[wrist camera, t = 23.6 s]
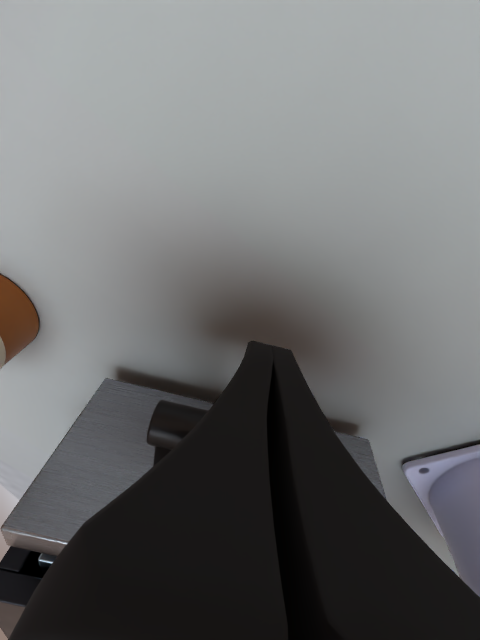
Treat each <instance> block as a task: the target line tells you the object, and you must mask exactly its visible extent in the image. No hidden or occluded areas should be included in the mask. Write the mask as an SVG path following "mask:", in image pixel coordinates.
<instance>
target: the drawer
mask: <svg viewBox="0 0 480 640" xmlns="http://www.w3.org/2000/svg"><path fill="white" fill-rule="evenodd" d="M213 404H214V403H211V402H206V401H202V400H198V399H194V398H189V397H185V396H181V395H177V394H172V393H168V392H164V391H160V390H155V389H151V388H147V387H143V386H138V385H134V384H130V383H125V382H121V381H117V380H113V379H108V378H106V379H105V380H104V381H103V382H102V384H101V385H100V387H99V388H98V390H97V391H96V392H95V394H94V395H93V397H92V398H91V400H90V401H89V402H88V404H87V405H86V407H85V408H84V410H83V411H82V412H81V414H80V415H79V417H78V418H77V420H76V421H75V422H74V424H73V425H72V427H71V428H70V430H69V431H68V432H67V434H66V435H65V437H64V438H63V439H62V441H61V442H60V444H59V445H58V447H57V448H56V449H55V451H54V452H53V454H52V455H51V457H50V458H49V459H48V461H47V462H46V464H45V465H44V467H43V468H42V469H41V471H40V472H39V474H38V475H37V477H36V478H35V479H34V481H33V482H32V484H31V485H30V487H29V488H28V489H27V491H26V492H25V494H24V495H23V497H22V498H21V499H20V501H19V502H18V504H17V505H16V507H15V508H14V510H13V511H12V512H11V514H10V515H9V517H8V518H7V519H6V521H5V522H4V524H3V525H2V527H1V532H2V534H3V536H4V539H5V541H6V543H7V545H9V546H13V547H17V548H22V549H26V550H31V551H35V552H40V553H41V555H40V557H39V559H38V561H39V565H40V568H41V571H42V574H43V576H44V575H45V573H46V572H47V570H48V569H49V567H50V566H51V564H52V563H53V562H54V560H55V559H56V558H57V556H58V555H59V554H60V552H61V551H62V550H63V548H64V547H65V546H66V545H67V543H68V542H69V541H70V540H71V538H72V537H73V536H74V535H75V533H76V532H77V531H78V530H79V528H80V527H81V526H82V525H83V524H84V523H85V522H86V521H87V520H88V519H89V518H91V517H92V516H93V515H94V514H96V513H97V512H98V511H100V510H101V509H102V508H103V507H105V506H106V505H107V504H109V503H110V502H111V501H112V500H114V499H115V498H116V497H118V496H119V495H120V494H121V493H123V492H124V491H125V490H126V489H128V488H129V487H130V486H131V485H133V484H134V483H135V482H136V481H137V480H139V479H140V478H141V477H142V476H143V475H144V474H145V473H146V472H148V471H149V470H150V469H151V468H152V467H153V466H154V465H155V464H157V463H158V462H159V461H160V460H161V459H162V458H163V457H164V456H166V455H167V454H168V453H169V452H170V451H171V450H172V449H173V448H174V447H175V446H176V445H177V444H178V443H179V442H180V441H181V440H182V439H183V438H184V437H185V436H186V435H187V434H188V433H189V432H190V431H191V430H192V429H193V428H194V427H195V425H196V424H197V423H198V422H199V421H200V420H201V419H202V418H203V416H204V415H205V414H206V413H207V412H208V411H209V409H210V408H211V407H212V406H213ZM335 433H336V435H337V437H338V438H339V439H340V441H341V442H342V444H343V445H344V447H345V448H346V449H347V451H348V452H349V453H350V455H351V456H352V458H353V459H354V460H355V462H356V463H357V464H358V466H359V467H360V468H361V470H362V471H363V472H364V474H365V475H366V476H367V477H368V479H369V480H370V481H371V482H372V483H373V485H374V486H375V487H376V488H377V489H378V491H379V492H380V493H381V494H382V495H383V497H384V498H385V499H386V497H385V493H384V490H383V487H382V483H381V480H380V476H379V473H378V470H377V466H376V463H375V459H374V456H373V452H372V449H371V446H370V442H369V440H368V439H364V438H360V437H355V436H351V435H347V434H343V433H338V432H335Z"/></svg>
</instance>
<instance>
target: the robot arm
mask: <svg viewBox="0 0 480 640" xmlns="http://www.w3.org/2000/svg"><path fill="white" fill-rule="evenodd" d="M402 469H403V472H404V474H405V476H406V478H407V479H408V481H409V483H410V484H411V486H412V488H413V489H414V491H415V493H416V494H417V496H418V498H419V499H420V501H421V503H422V504H423V506H424V508H425V509H426V511H427V513H428V514H429V516H430V518H431V519H432V521H433V523H434V524H435V526H436V528H437V529H438V531H439V533H440V534H441V535H442V536H443V537H444V538H445V541H446V543H447V546H448V548H449V551H450V553H451V556H452V558H453V560H454V563H455V565H456V568H457V570H458V573H459V575H460V578H461V579H460V578H459V577H458V576H457V575H456V574H455V573H454V572H453V571H452V570H451V569H450V568H449V567H448V566H447V565H446V564H445V563H444V562H443V561H442V560H441V559H440V558H439V557H438V556H437V555H436V554H435V553H434V552H433V551H432V550H431V549H430V548H429V546H428V545H427V544H426V543H425V542H424V541H423V540H422V539H421V538H420V537H419V536H418V535H417V534H416V533H415V532H414V531H413V530H412V528H411V527H410V526H409V525H408V524H407V523H406V522H405V521H404V520H403V519H402V517H401V516H400V515H399V514H398V513H397V512H396V511H395V510H394V508H393V507H392V506H391V505H390V504H389V503H388V501H387V500H386V499H385V498H384V497H383V495H382V494H381V493H380V492H379V491H378V489H377V488H376V487H375V486H374V485H373V483H372V482H371V481H370V480H369V479H368V477H367V476H366V475H365V474H364V472H363V471H362V470H361V468H360V467H359V466H358V464H357V463H356V462H355V460H354V459H353V458H352V456H351V455H350V453H349V452H348V451H347V449H346V448H345V447H344V445H343V444H342V442H341V441H340V439H339V438H338V437H337V435H336V433H335V432H334V430H333V429H332V427H331V425H330V424H329V422H328V421H327V419H326V417H325V416H324V414H323V412H322V411H321V409H320V407H319V405H318V403H317V402H316V400H315V398H314V396H313V394H312V392H311V391H310V389H309V387H308V385H307V383H306V381H305V379H304V377H303V375H302V373H301V371H300V368H299V366H298V364H297V362H296V360H295V358H294V356H293V353H292V352H291V350H289V349H284V348H280V347H276V346H272V345H268V344H264V343H260V342H256V341H251V342H249V343H248V345H247V349H246V352H245V356H244V358H243V360H242V362H241V364H240V366H239V368H238V370H237V371H236V373H235V375H234V376H233V378H232V380H231V381H230V383H229V384H228V386H227V387H226V388H225V390H224V391H223V392H222V394H221V395H220V397H219V398H218V399H217V401H216V402H215V403H214V404H213V406H212V407H211V408H210V409H209V411H208V412H207V413H206V414H205V415H204V416H203V418H202V419H201V420H200V421H199V422H198V423H197V424H196V425H195V427H194V428H193V429H192V430H191V431H190V432H189V433H188V434H187V435H186V436H185V437H184V438H183V439H182V440H181V441H180V442H179V443H178V444H177V445H176V446H175V447H174V448H173V449H172V450H171V451H170V452H169V453H168V454H167V455H166V456H164V457H163V458H162V459H161V460H160V461H159V462H158V463H157V464H155V465H154V466H153V467H152V468H151V469H150V470H149V471H148V472H146V473H145V474H144V475H143V476H142V477H141V478H140V479H139V480H137V481H136V482H135V483H134V484H133V485H131V486H130V487H129V488H128V489H126V490H125V491H124V492H123V493H121V494H120V495H119V496H118V497H116V498H115V499H114V500H112V501H111V502H110V503H109V504H107V505H106V506H105V507H103V508H102V509H101V510H100V511H98V512H97V513H96V514H94V515H93V516H92V517H91V518H89V519H88V520H87V521H86V522H85V523H84V524H83V525H82V526H81V527H80V528H79V530H78V531H77V532H76V533H75V535H74V536H73V537H72V538H71V540H70V541H69V542H68V543H67V545H66V546H65V547H64V548H63V550H62V551H61V552H60V554H59V555H58V556H57V558H56V559H55V560H54V562H53V563H52V564H51V566H50V567H49V569H48V570H47V572H46V573H45V575H44V576H43V578H42V580H41V581H40V583H39V584H38V586H37V587H36V589H35V591H34V592H33V594H32V596H31V598H30V599H29V601H28V603H27V605H26V607H25V609H24V611H23V613H22V615H21V616H20V618H19V620H18V622H17V624H16V626H15V628H14V630H13V631H12V633H11V635H10V637H9V639H8V640H480V444H479V445H475V446H471V447H467V448H462V449H458V450H454V451H450V452H446V453H442V454H438V455H434V456H430V457H426V458H421V459H417V460H413V461H409V462H406V463H405V464H404V465H403V466H402Z"/></svg>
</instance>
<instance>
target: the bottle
mask: <svg viewBox="0 0 480 640" xmlns="http://www.w3.org/2000/svg"><path fill="white" fill-rule="evenodd" d="M38 329H39V321H38V316H37V313H36V310H35V308H34V306H33V305H32V303H31V301H30V300H29V299H28V297H27V296H26V295H25V294H24V293H23V291H22V290H21V289H20V288H18V287H17V286H16V285H15V284H14V283H13V282H11V281H10V280H8V279H7V278H5V277H4V276H2V275H0V369H1V368H2V367H3V366H4V365H5V364H6V363H7V362H8V361H9V360H11V359H12V358H13V357H14V356H15V355H16V354H18V353H19V352H20V351H21V350H22V349H24V348H25V347H26V346H27V345H28V344H29V343H31V342H32V341H33V340H34V339H35V337H36V335H37V333H38Z"/></svg>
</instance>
